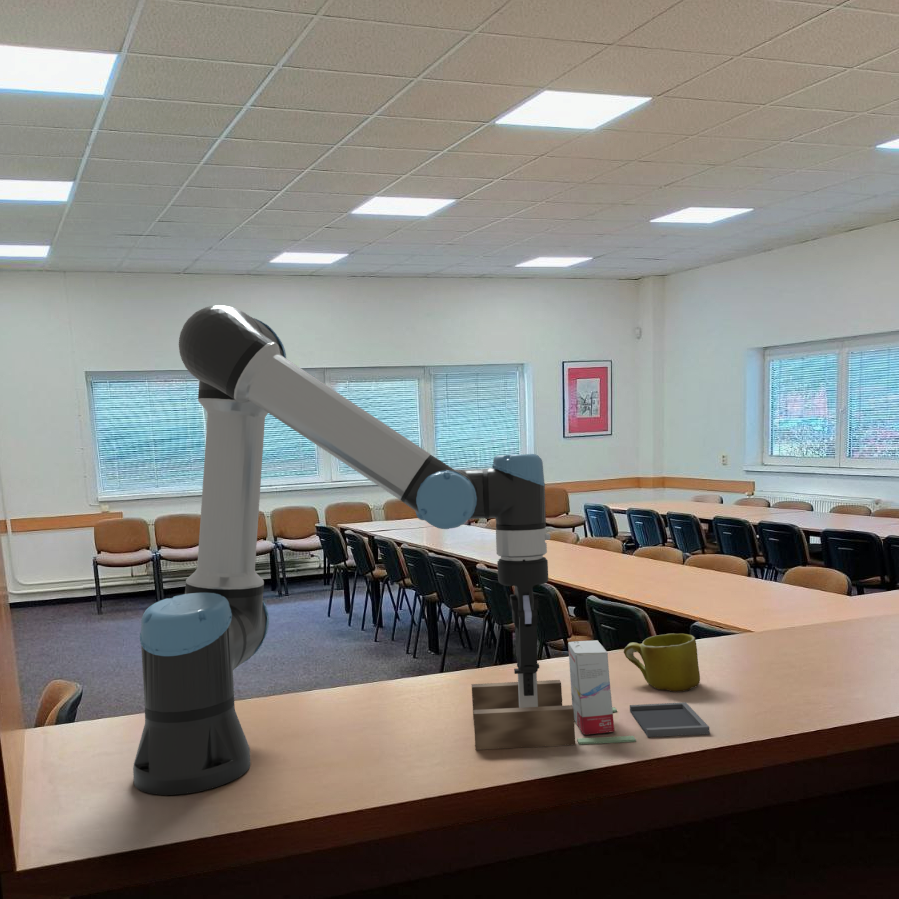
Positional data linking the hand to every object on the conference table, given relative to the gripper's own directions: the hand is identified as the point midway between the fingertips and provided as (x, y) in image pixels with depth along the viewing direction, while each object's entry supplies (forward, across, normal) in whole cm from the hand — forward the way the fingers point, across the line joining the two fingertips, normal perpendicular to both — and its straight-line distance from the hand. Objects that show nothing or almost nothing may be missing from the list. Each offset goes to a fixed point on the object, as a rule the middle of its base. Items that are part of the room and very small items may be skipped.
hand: (528, 714), depth 120 cm
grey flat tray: (+2, 0, -20) cm, 20 cm away
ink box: (+2, 0, -9) cm, 10 cm away
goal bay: (+2, 0, -10) cm, 10 cm away
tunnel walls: (+2, 0, +1) cm, 2 cm away
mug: (+2, +19, -25) cm, 32 cm away
